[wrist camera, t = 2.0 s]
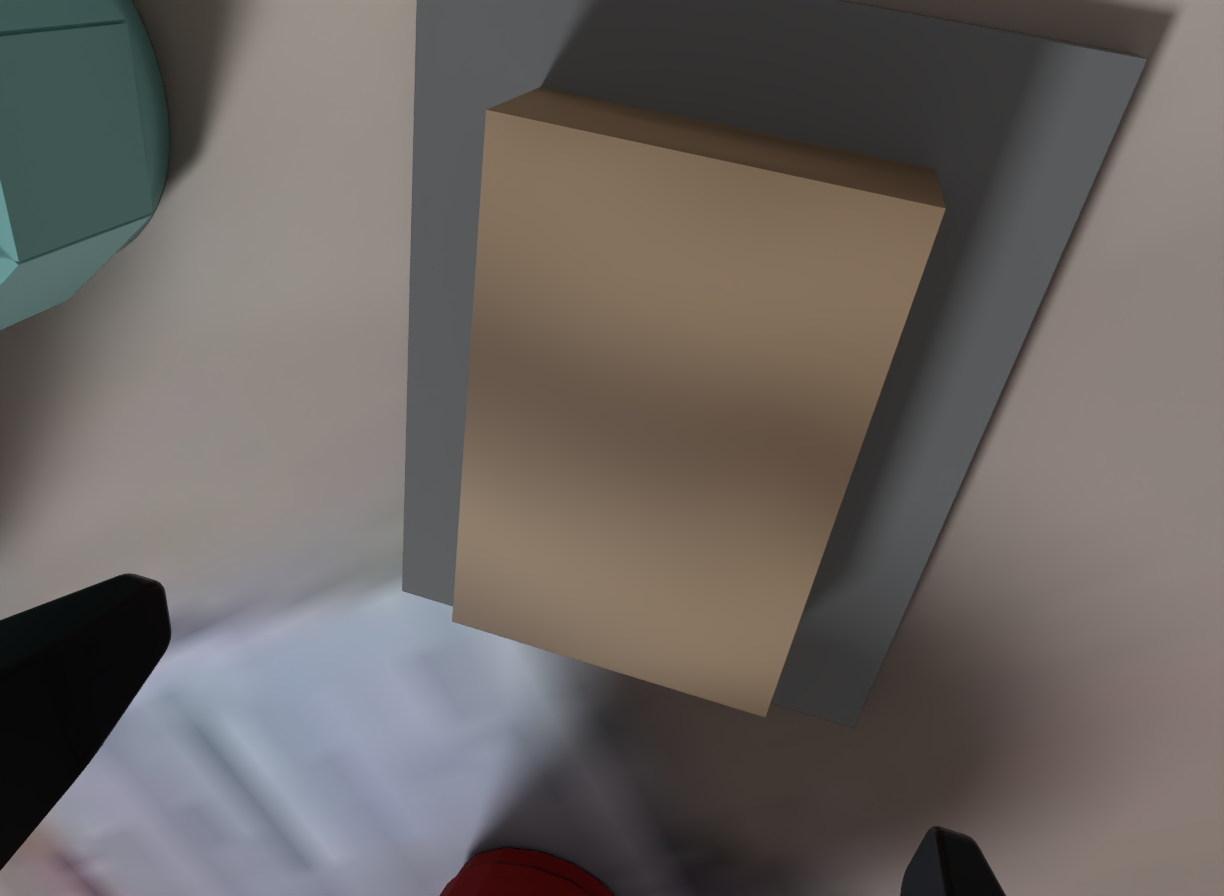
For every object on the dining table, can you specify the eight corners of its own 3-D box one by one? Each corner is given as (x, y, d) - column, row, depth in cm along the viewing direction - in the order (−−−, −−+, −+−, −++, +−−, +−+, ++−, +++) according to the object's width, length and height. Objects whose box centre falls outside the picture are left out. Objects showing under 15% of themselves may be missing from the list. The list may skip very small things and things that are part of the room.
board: (777, 635, 19) (764, 717, 17) (495, 552, 20) (451, 621, 18) (935, 169, 14) (945, 208, 12) (540, 86, 14) (486, 110, 12)
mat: (854, 708, 20) (853, 728, 20) (413, 576, 22) (402, 591, 21) (1136, 54, 13) (1147, 59, 12) (435, -75, 14) (418, -75, 14)
